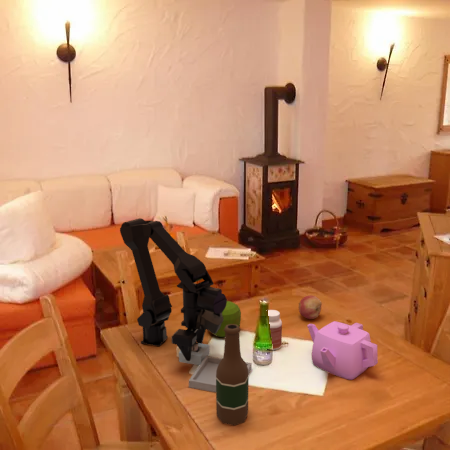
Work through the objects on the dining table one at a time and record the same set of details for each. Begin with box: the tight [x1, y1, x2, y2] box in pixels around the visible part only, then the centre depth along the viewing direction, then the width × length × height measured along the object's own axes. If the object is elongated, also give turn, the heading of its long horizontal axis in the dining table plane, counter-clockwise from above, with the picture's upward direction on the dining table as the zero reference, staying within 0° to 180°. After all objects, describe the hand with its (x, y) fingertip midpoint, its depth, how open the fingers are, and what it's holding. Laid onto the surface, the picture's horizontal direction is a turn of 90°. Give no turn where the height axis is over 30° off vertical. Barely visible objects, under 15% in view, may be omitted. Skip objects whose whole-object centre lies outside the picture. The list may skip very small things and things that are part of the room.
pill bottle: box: [267, 309, 283, 351], centre depth 157 cm, size 6×6×11 cm
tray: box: [188, 355, 253, 393], centre depth 141 cm, size 14×14×2 cm
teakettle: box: [306, 320, 379, 381], centre depth 146 cm, size 17×17×12 cm
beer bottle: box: [215, 324, 249, 426], centre depth 122 cm, size 8×8×24 cm
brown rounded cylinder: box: [192, 342, 198, 352], centre depth 152 cm, size 2×2×4 cm
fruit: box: [298, 294, 323, 320], centre depth 176 cm, size 8×8×8 cm
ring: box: [176, 343, 211, 366], centre depth 152 cm, size 9×7×3 cm
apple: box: [213, 300, 242, 338], centre depth 166 cm, size 11×11×11 cm
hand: (194, 352), depth 152 cm, fingers open, 9 cm apart
